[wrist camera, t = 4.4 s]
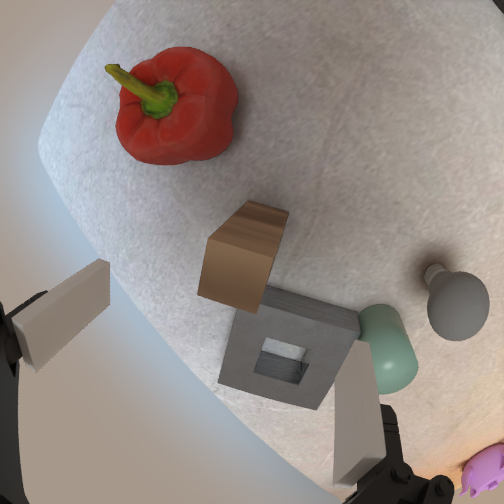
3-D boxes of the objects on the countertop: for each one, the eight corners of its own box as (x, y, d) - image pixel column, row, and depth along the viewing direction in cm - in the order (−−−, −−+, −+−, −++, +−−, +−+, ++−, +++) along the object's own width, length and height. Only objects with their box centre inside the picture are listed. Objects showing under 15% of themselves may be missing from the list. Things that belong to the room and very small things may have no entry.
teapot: (510, 450, 35) (520, 478, 27) (458, 479, 40) (464, 509, 32) (510, 430, 33) (522, 462, 25) (451, 464, 38) (458, 498, 30)
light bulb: (451, 298, 28) (488, 351, 19) (404, 299, 29) (431, 358, 20) (461, 246, 26) (509, 289, 17) (412, 246, 27) (449, 291, 18)
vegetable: (130, 118, 28) (66, 116, 19) (194, 42, 24) (144, 8, 15) (200, 186, 29) (151, 207, 20) (274, 108, 26) (254, 91, 16)
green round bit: (365, 298, 30) (377, 344, 23) (408, 311, 30) (428, 356, 22) (345, 339, 32) (350, 388, 25) (387, 349, 32) (399, 398, 24)
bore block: (248, 279, 32) (240, 297, 28) (356, 311, 31) (360, 333, 27) (226, 361, 36) (217, 382, 33) (317, 387, 35) (316, 410, 32)
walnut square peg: (248, 200, 29) (208, 238, 18) (288, 212, 29) (273, 258, 18) (238, 238, 31) (197, 295, 19) (277, 250, 30) (256, 314, 19)
